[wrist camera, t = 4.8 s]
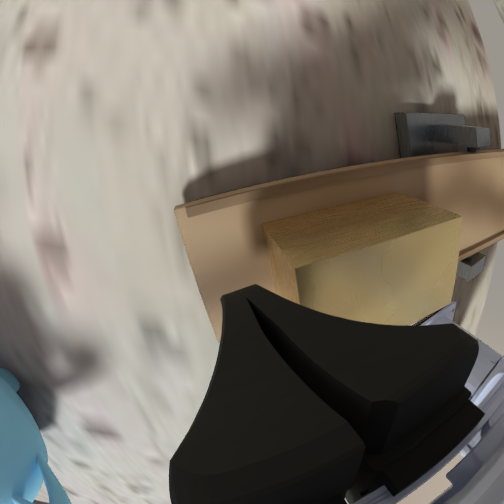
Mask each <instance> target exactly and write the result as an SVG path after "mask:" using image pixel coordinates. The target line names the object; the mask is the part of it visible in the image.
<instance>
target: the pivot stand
mask: <svg viewBox="0 0 504 504" xmlns="http://www.w3.org/2000/svg"><path fill="white" fill-rule="evenodd" d="M395 118H396V125H397V132H398V139H399V147H400V157H401V158H407V157H415V156H424V155H432V154H442V153H452V152H464V151H467V146H473V147H484V146H491V140H490V129H489V128H485V127H475V126H465V119H464V115H456V114H440V113H395ZM484 262H485V255H483V254H480V253H478V252H477V253H475V254H473V255H471V256H469V257H467V258H465V259H463V260H461V261H459V262H458V265H457V272H456V275H457V276H459V277H461V278H463V279H465V280H466V281H468V282H469V281H471V280H472V279H473V278H474V277H475V276H477V275H478V274H479V273H480V272H481V271H482V270H483V268H484Z"/></svg>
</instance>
